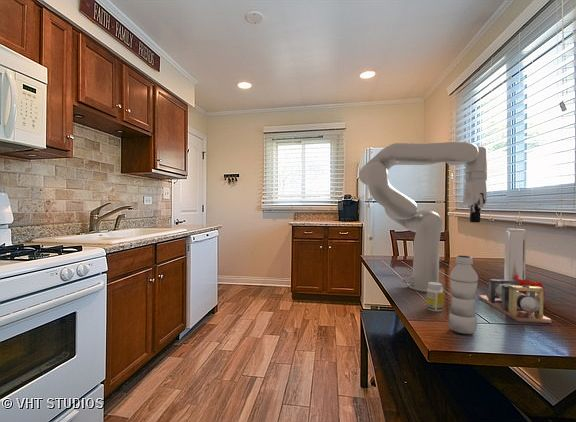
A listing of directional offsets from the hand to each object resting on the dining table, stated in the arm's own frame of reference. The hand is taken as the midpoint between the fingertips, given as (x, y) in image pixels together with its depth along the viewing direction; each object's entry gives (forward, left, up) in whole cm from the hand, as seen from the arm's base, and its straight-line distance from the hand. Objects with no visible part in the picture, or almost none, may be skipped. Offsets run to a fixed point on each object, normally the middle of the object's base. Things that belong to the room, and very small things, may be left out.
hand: (475, 222), depth 124 cm
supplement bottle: (-25, -30, -27) cm, 48 cm away
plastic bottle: (-24, -48, -27) cm, 60 cm away
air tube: (0, -28, -25) cm, 37 cm away
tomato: (+11, -16, -27) cm, 34 cm away
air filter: (+13, -4, -27) cm, 31 cm away
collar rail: (0, -25, -27) cm, 37 cm away
